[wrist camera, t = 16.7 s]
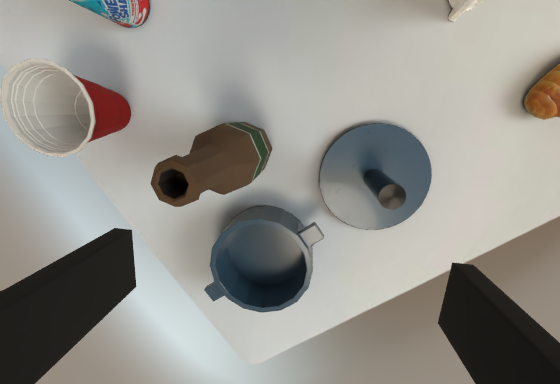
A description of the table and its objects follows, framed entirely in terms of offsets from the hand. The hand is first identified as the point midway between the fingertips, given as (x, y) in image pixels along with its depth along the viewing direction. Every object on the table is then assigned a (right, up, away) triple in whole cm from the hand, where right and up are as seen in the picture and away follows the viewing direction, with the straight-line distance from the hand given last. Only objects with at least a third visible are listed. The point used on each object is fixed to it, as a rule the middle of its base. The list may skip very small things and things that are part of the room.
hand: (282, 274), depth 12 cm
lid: (+14, +5, +30) cm, 33 cm away
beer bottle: (-5, +10, +31) cm, 33 cm away
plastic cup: (-25, +16, +32) cm, 44 cm away
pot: (-2, -6, +35) cm, 35 cm away
